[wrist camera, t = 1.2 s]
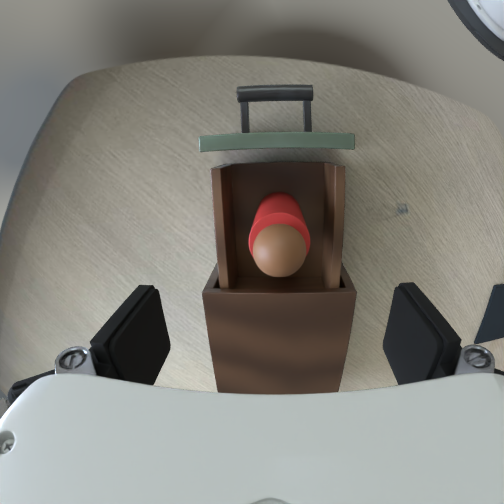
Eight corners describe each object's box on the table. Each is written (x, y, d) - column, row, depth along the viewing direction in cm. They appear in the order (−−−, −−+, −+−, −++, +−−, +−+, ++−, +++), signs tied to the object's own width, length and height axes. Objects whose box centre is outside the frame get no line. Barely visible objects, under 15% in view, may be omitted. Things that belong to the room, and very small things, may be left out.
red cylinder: (256, 192, 26) (241, 225, 15) (300, 191, 25) (317, 225, 15) (258, 233, 27) (244, 292, 17) (300, 233, 27) (314, 292, 16)
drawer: (214, 96, 24) (196, 83, 18) (335, 94, 23) (352, 79, 17) (225, 279, 30) (213, 310, 25) (333, 278, 29) (344, 310, 24)
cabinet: (220, 256, 31) (201, 292, 23) (338, 255, 29) (357, 291, 22) (231, 365, 36) (221, 410, 28) (326, 365, 35) (333, 411, 27)
